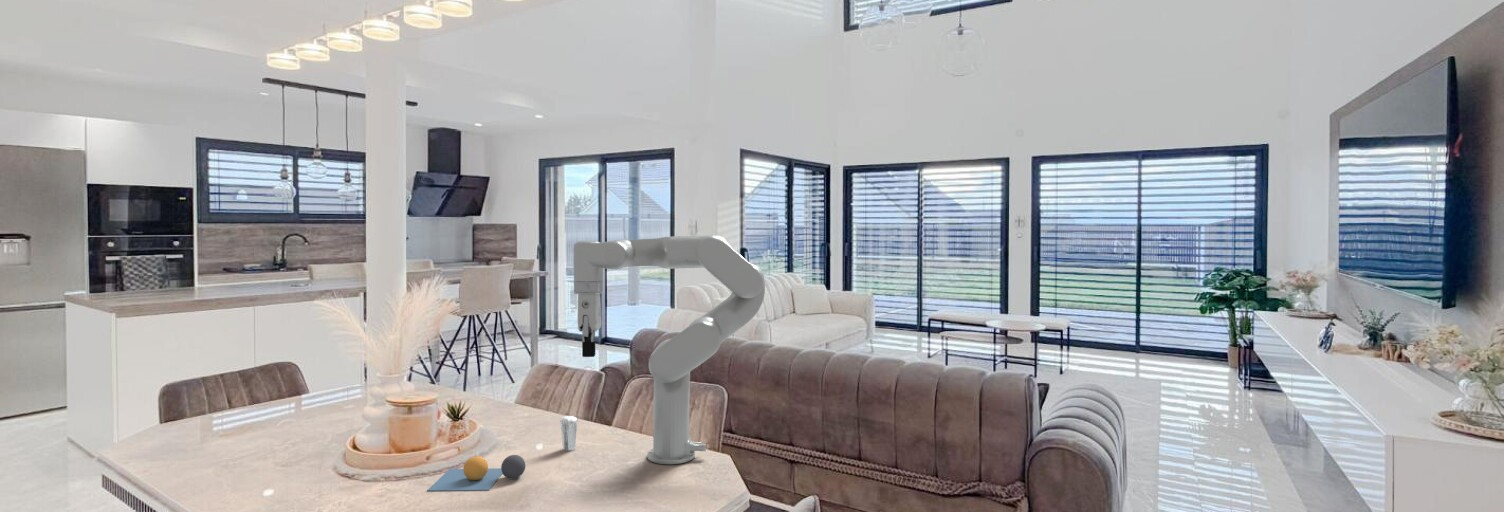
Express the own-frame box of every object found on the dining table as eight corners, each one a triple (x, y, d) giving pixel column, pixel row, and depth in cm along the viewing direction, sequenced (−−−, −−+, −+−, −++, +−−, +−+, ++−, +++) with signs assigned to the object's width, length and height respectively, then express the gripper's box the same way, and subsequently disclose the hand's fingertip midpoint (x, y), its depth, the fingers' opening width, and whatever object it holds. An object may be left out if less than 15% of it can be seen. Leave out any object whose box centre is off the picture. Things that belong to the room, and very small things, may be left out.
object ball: (463, 459, 172) (474, 479, 173) (455, 467, 167) (467, 488, 167) (484, 449, 172) (495, 468, 173) (476, 456, 167) (488, 477, 167)
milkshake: (575, 452, 190) (575, 416, 190) (557, 451, 191) (557, 415, 191) (583, 447, 195) (583, 411, 194) (565, 446, 196) (565, 410, 195)
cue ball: (513, 478, 174) (532, 469, 173) (502, 485, 168) (523, 476, 168) (504, 457, 174) (523, 448, 174) (493, 464, 169) (513, 455, 168)
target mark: (506, 469, 177) (506, 468, 177) (488, 490, 163) (488, 489, 163) (449, 469, 176) (449, 468, 176) (427, 491, 162) (427, 490, 162)
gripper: (598, 290, 178) (599, 361, 179) (606, 285, 193) (606, 351, 194) (568, 290, 178) (569, 362, 179) (578, 285, 193) (579, 351, 194)
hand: (588, 356), depth 186 cm, fingers closed
